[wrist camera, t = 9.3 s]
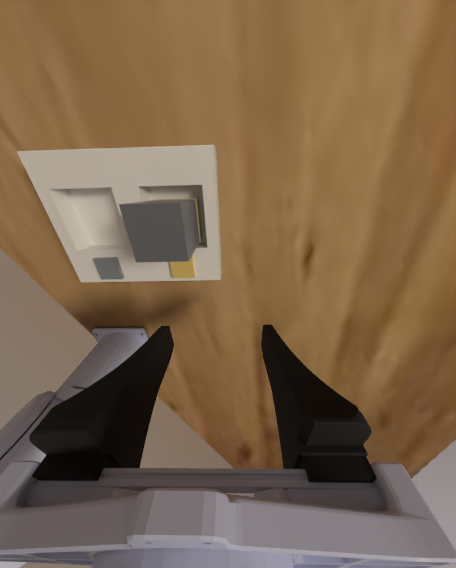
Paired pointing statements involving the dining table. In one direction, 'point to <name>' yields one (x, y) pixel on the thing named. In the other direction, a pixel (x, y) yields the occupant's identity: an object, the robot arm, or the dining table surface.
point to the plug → (163, 229)
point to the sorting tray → (120, 190)
